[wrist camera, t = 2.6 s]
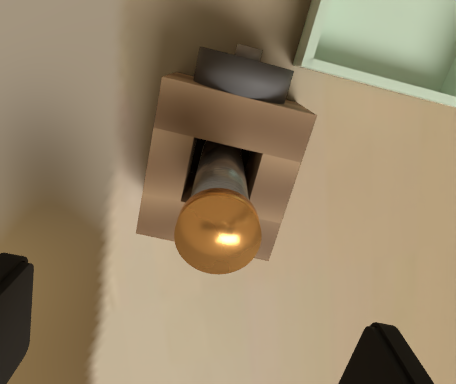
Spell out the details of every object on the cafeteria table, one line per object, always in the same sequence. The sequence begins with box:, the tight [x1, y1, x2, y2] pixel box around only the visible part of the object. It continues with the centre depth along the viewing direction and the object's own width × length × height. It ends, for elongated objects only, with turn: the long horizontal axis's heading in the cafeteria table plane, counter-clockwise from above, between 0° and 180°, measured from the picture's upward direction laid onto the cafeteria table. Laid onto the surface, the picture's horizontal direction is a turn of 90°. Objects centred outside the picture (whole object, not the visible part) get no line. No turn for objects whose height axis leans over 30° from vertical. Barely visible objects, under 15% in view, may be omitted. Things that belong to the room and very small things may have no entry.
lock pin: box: [174, 140, 262, 274], centre depth 21 cm, size 4×4×14 cm
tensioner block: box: [136, 44, 317, 261], centre depth 24 cm, size 13×9×6 cm
